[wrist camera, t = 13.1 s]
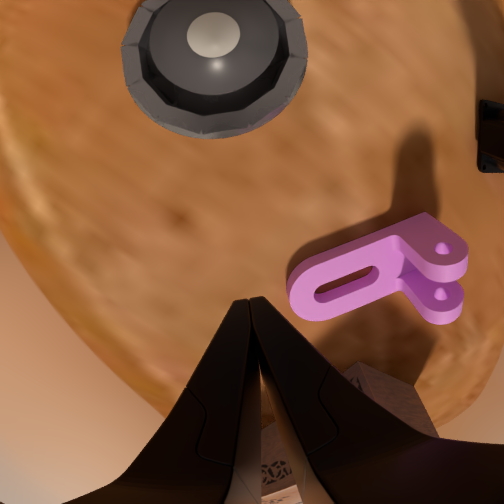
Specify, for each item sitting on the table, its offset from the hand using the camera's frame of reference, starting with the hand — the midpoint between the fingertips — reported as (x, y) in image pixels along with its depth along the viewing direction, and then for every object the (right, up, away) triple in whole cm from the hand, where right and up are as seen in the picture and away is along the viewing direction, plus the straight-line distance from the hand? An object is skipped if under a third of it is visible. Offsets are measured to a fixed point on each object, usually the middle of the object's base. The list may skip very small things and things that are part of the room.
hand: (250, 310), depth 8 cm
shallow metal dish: (-2, +13, +6) cm, 15 cm away
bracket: (+9, +1, +15) cm, 17 cm away
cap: (-2, +13, +6) cm, 15 cm away
